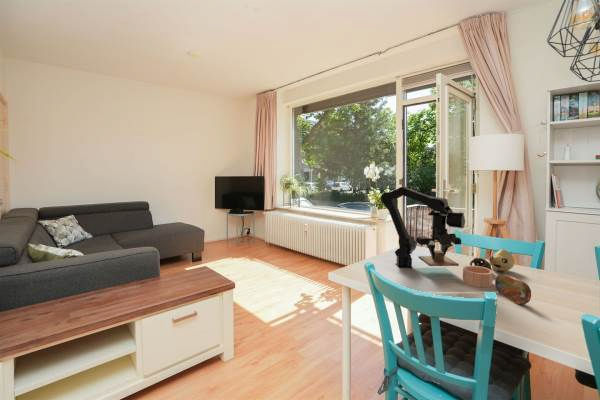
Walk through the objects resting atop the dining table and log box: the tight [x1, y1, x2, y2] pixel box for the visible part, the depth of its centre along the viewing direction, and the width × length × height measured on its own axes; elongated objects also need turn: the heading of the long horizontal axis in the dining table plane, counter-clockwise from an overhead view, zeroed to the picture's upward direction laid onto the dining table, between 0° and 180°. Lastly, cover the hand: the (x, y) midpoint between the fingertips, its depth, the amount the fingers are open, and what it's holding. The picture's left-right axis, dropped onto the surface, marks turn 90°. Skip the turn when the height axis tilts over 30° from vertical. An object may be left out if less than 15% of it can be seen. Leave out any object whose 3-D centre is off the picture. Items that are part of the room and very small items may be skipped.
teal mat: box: [415, 267, 462, 280], centre depth 144 cm, size 15×15×1 cm
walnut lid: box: [418, 249, 459, 267], centre depth 143 cm, size 13×13×5 cm
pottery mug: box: [469, 257, 494, 272], centre depth 146 cm, size 12×10×8 cm
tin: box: [494, 273, 532, 305], centre depth 116 cm, size 15×3×8 cm, turn 5°
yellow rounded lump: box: [488, 248, 515, 274], centre depth 147 cm, size 10×12×11 cm
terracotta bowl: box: [462, 265, 494, 288], centre depth 132 cm, size 11×11×6 cm
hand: (437, 258), depth 143 cm, fingers closed on walnut lid, 4 cm apart
